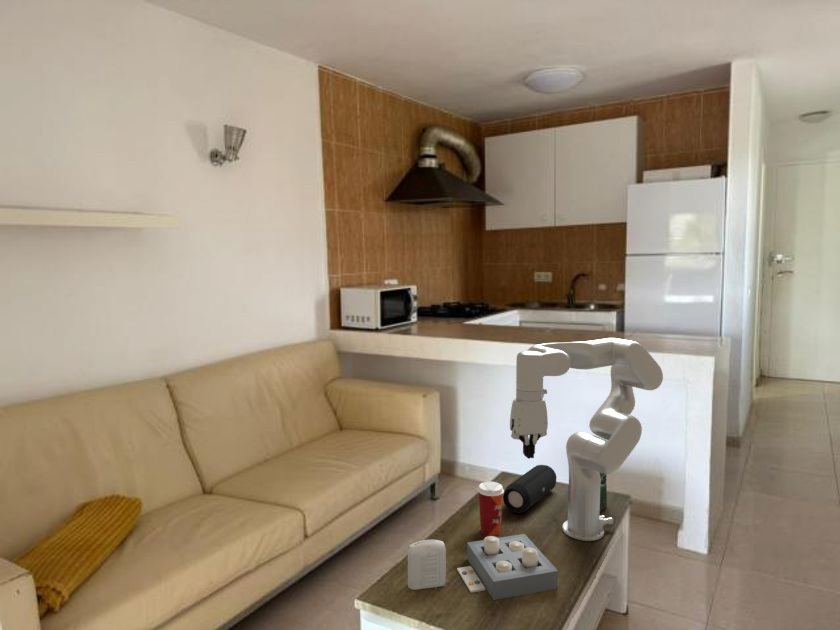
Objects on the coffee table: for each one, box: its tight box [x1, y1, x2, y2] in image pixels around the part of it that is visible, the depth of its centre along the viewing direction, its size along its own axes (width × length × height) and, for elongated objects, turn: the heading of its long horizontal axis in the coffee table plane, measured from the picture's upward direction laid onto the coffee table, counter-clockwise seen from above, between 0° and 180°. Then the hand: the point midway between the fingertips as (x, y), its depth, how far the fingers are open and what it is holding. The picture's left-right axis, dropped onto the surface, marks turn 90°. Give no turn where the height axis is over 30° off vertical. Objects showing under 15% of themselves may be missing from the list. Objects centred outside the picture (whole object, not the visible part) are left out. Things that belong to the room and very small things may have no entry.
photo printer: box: [407, 539, 447, 591], centre depth 151 cm, size 10×4×12 cm, turn 103°
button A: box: [509, 541, 524, 564], centre depth 161 cm, size 4×4×5 cm
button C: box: [483, 536, 499, 556], centre depth 159 cm, size 4×4×5 cm
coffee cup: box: [477, 481, 505, 537], centre depth 179 cm, size 8×8×15 cm
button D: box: [495, 561, 513, 573], centre depth 151 cm, size 4×4×5 cm
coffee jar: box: [599, 472, 608, 512], centre depth 195 cm, size 10×8×19 cm
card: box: [457, 565, 486, 593], centre depth 154 cm, size 4×11×1 cm, turn 15°
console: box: [466, 533, 559, 601], centre depth 156 cm, size 18×20×5 cm
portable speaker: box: [502, 464, 557, 513], centre depth 200 cm, size 26×10×10 cm, turn 143°
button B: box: [522, 548, 538, 569], centre depth 153 cm, size 4×4×5 cm
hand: (528, 456), depth 164 cm, fingers closed
